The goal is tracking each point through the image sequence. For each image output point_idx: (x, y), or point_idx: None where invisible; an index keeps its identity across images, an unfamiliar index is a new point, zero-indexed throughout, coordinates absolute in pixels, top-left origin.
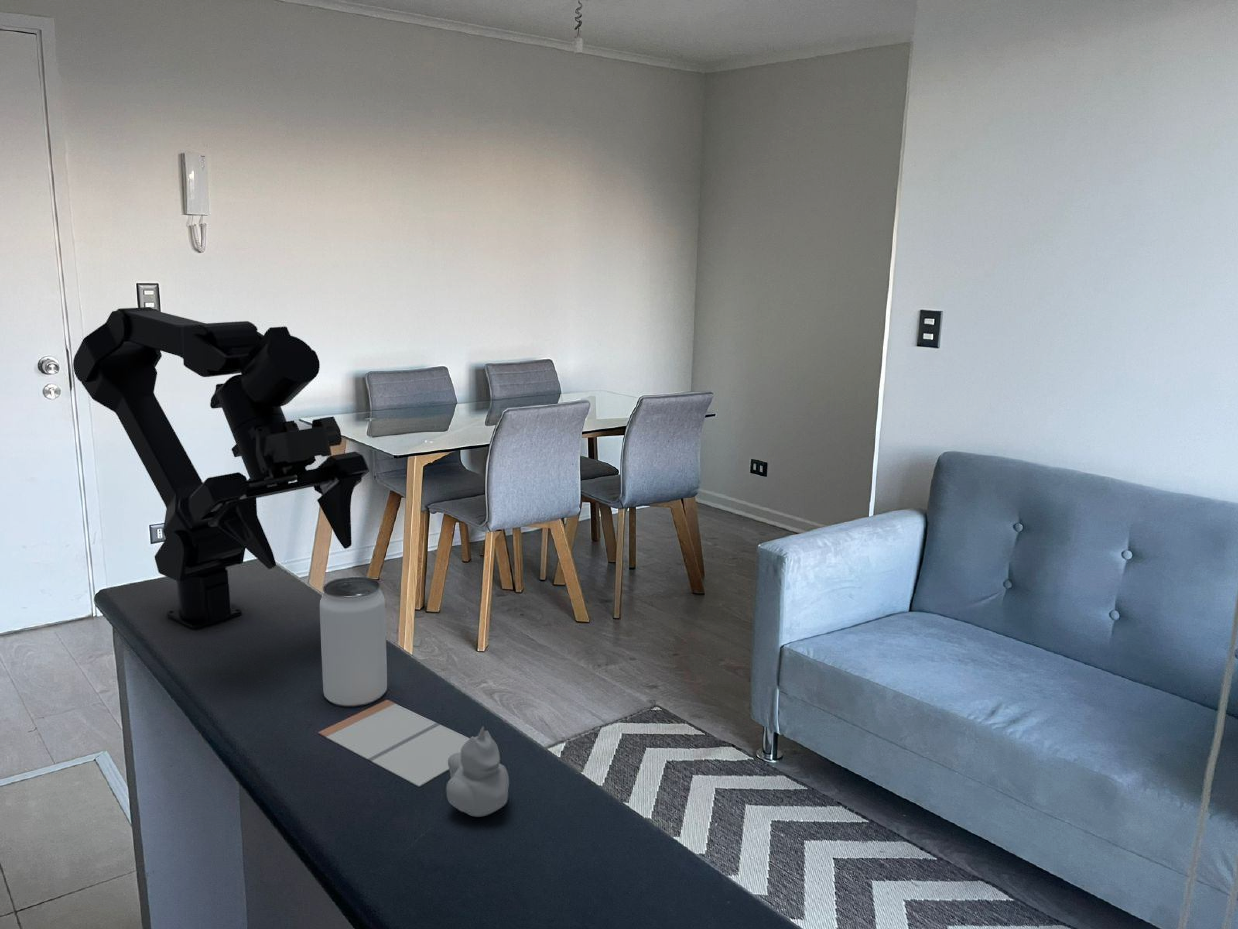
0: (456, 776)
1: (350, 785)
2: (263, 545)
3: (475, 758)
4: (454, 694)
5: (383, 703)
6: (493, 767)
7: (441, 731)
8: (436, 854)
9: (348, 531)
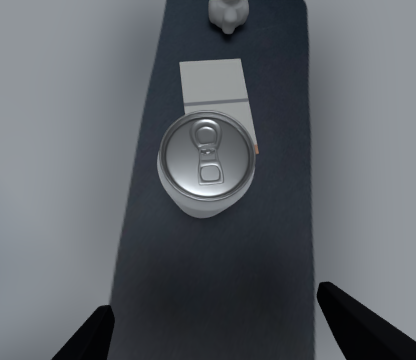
0: (243, 4)
1: (271, 87)
2: (388, 327)
3: None
4: (142, 133)
5: None
6: None
7: (189, 95)
8: (266, 14)
9: (77, 341)
